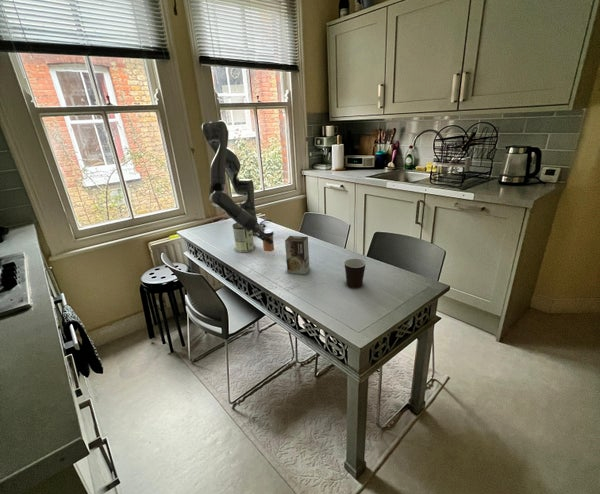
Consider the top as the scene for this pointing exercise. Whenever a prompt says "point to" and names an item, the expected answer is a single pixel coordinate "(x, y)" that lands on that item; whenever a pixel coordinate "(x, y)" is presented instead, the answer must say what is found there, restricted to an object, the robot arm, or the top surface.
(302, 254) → the coffee box
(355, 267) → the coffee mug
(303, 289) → the top surface
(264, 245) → the jar
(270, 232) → the lid
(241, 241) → the coffee can
